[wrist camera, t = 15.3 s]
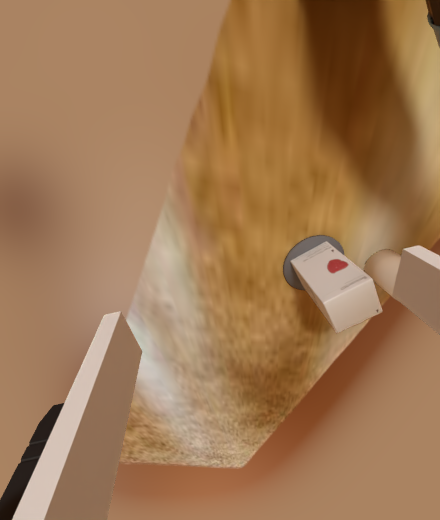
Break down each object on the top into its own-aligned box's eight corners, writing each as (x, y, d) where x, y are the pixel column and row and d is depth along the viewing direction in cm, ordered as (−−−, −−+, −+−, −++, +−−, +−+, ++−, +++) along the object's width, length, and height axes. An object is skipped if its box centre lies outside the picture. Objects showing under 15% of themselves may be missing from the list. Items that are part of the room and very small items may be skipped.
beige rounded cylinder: (367, 251, 54) (398, 272, 47) (400, 246, 55) (436, 266, 47) (361, 280, 58) (388, 303, 51) (392, 275, 59) (423, 298, 51)
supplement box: (327, 239, 51) (375, 277, 38) (338, 269, 55) (385, 312, 42) (288, 260, 52) (322, 303, 39) (302, 287, 56) (337, 335, 43)
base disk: (284, 240, 50) (285, 241, 50) (347, 231, 51) (349, 232, 51) (282, 292, 57) (283, 294, 57) (337, 284, 58) (339, 285, 57)
